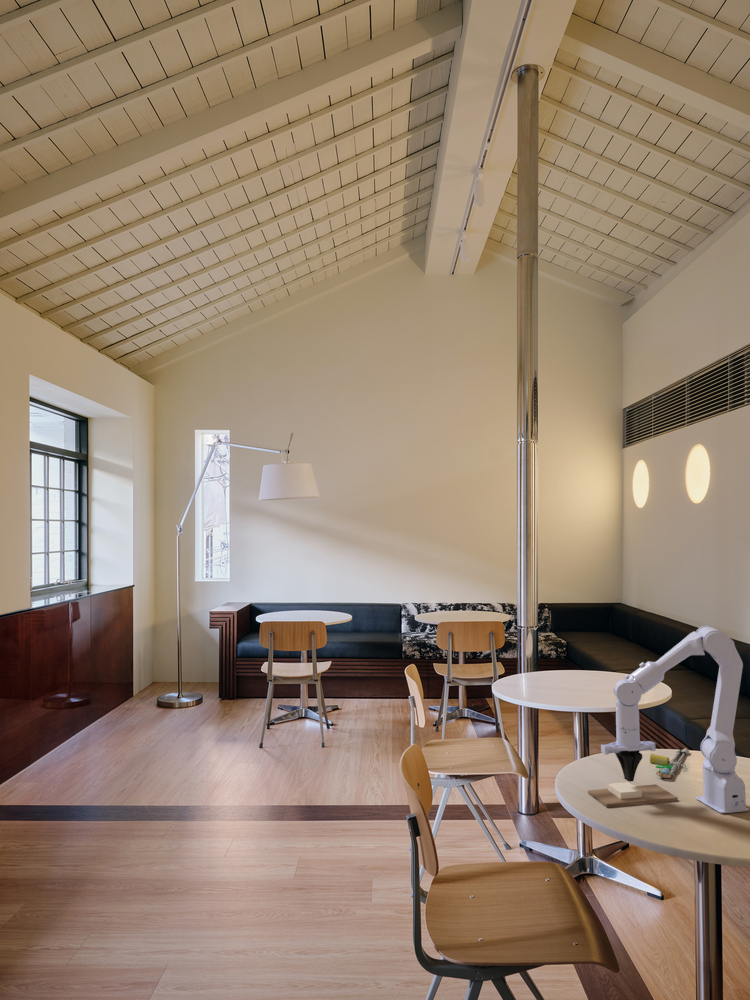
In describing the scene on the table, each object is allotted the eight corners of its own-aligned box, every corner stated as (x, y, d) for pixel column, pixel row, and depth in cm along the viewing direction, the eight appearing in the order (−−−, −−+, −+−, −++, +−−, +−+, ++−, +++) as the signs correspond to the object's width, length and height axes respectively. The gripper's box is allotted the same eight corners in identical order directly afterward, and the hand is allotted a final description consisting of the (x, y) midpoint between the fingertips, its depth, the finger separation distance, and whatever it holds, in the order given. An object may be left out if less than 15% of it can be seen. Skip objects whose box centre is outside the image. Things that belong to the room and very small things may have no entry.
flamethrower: (639, 775, 185) (678, 784, 180) (640, 765, 185) (678, 775, 180) (660, 749, 209) (695, 756, 204) (660, 740, 209) (695, 748, 204)
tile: (641, 790, 168) (620, 792, 167) (641, 797, 168) (620, 799, 167) (628, 782, 174) (607, 783, 173) (628, 788, 174) (607, 790, 173)
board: (677, 800, 168) (677, 797, 168) (606, 807, 164) (606, 804, 164) (656, 787, 177) (656, 784, 177) (588, 793, 173) (588, 790, 173)
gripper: (643, 721, 177) (644, 772, 176) (594, 724, 174) (595, 776, 173) (659, 728, 170) (661, 782, 169) (608, 732, 167) (610, 786, 167)
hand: (629, 780), depth 171 cm, fingers closed
